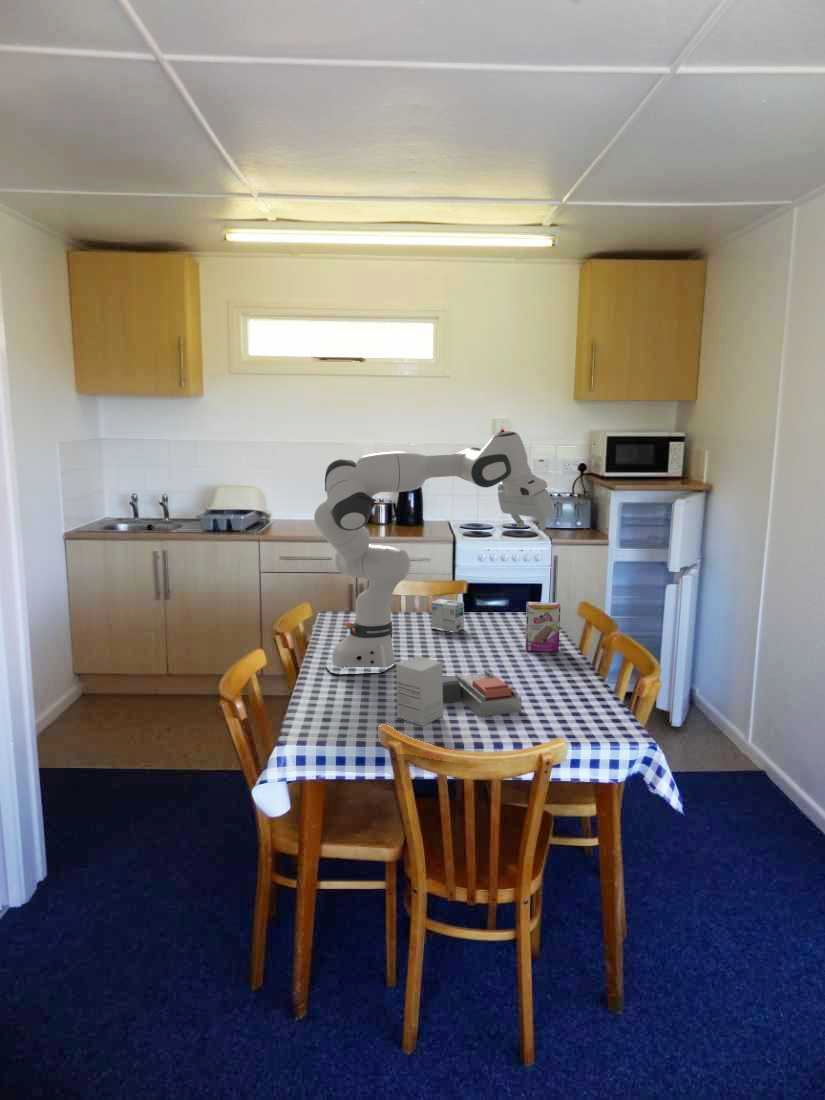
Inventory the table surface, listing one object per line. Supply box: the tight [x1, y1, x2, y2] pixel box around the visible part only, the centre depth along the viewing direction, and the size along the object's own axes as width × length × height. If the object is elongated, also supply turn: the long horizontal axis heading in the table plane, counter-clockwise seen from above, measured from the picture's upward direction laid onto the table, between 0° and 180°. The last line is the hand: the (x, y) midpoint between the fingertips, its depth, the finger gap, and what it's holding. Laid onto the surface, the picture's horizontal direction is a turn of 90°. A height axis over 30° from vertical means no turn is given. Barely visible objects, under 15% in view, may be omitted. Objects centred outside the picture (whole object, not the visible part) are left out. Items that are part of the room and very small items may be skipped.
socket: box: [454, 669, 522, 718], centre depth 211 cm, size 12×21×5 cm, turn 18°
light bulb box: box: [430, 598, 465, 633], centre depth 282 cm, size 11×7×11 cm, turn 58°
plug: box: [443, 675, 462, 704], centre depth 212 cm, size 6×5×6 cm
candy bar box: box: [524, 601, 561, 653], centre depth 255 cm, size 11×5×16 cm, turn 84°
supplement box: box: [395, 656, 444, 727], centre depth 198 cm, size 9×9×15 cm
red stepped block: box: [473, 677, 512, 698], centre depth 206 cm, size 8×9×3 cm
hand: (531, 527), depth 223 cm, fingers open, 8 cm apart
